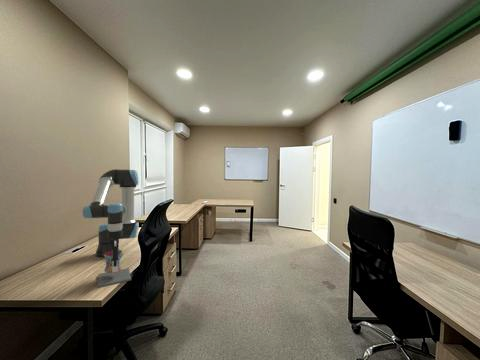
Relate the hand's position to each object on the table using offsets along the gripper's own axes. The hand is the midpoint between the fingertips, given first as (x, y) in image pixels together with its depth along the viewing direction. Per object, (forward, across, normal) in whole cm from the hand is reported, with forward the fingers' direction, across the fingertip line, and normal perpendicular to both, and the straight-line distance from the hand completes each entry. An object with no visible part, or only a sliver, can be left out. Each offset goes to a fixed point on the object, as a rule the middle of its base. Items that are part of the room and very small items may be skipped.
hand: (114, 268), depth 123 cm
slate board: (+6, 0, 0) cm, 6 cm away
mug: (+1, -1, 0) cm, 1 cm away
